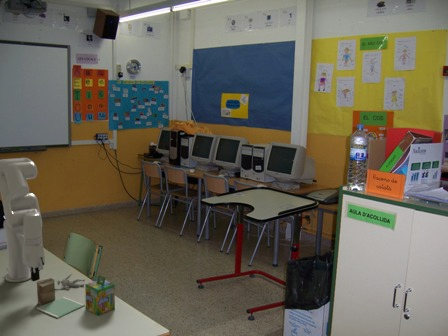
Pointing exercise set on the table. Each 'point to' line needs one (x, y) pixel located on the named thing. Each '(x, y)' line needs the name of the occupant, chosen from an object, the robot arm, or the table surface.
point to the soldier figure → (70, 282)
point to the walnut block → (46, 291)
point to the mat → (60, 307)
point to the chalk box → (100, 296)
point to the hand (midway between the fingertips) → (35, 280)
